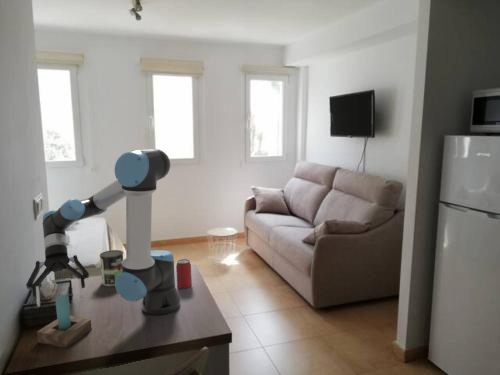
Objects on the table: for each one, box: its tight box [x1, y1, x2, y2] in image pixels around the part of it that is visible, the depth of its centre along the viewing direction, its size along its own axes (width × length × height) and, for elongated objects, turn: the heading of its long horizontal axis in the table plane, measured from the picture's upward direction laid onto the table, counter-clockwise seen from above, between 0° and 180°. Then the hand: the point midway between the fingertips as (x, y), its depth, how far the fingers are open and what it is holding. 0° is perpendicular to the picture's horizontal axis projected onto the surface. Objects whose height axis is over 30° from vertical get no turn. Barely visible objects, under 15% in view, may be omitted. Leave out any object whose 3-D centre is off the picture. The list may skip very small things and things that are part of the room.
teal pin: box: [54, 294, 71, 331], centre depth 130 cm, size 4×4×14 cm
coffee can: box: [99, 249, 124, 287], centre depth 175 cm, size 10×10×14 cm
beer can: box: [175, 258, 193, 290], centre depth 170 cm, size 7×7×12 cm
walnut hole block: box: [36, 315, 92, 349], centre depth 131 cm, size 12×12×4 cm
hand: (60, 301), depth 131 cm, fingers open, 13 cm apart
